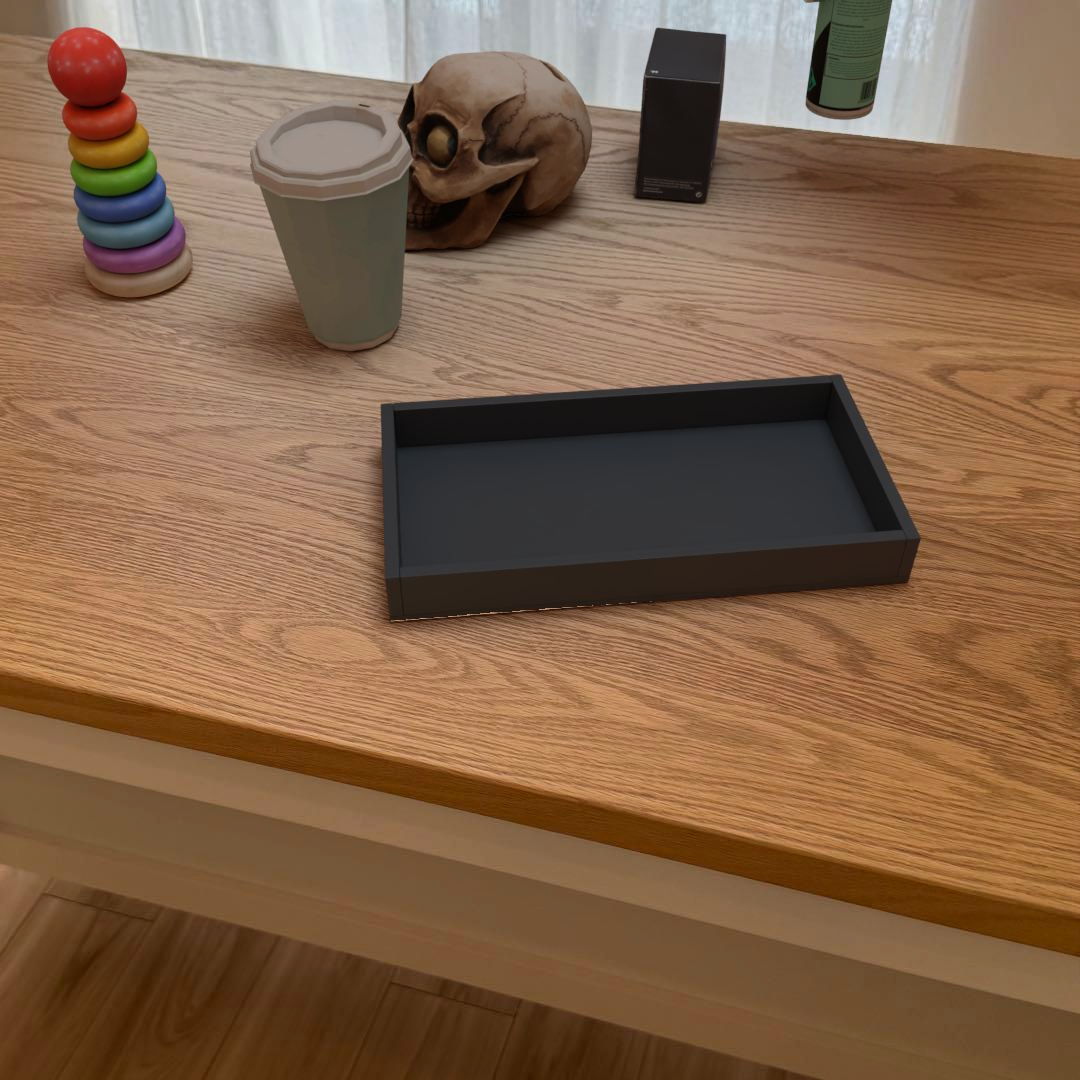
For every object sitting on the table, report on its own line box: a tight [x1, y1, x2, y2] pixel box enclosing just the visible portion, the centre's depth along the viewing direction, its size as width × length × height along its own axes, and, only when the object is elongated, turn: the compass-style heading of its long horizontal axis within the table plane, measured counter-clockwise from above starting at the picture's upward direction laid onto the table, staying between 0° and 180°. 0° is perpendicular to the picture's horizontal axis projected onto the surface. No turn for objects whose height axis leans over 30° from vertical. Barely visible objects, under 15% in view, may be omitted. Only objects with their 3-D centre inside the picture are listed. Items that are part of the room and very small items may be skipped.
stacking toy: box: [46, 26, 193, 298], centre depth 89 cm, size 8×8×19 cm
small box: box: [633, 27, 727, 203], centre depth 104 cm, size 11×6×10 cm, turn 171°
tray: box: [380, 373, 922, 622], centre depth 74 cm, size 30×16×4 cm, turn 96°
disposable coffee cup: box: [249, 99, 413, 352], centre depth 85 cm, size 11×11×15 cm
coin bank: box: [396, 50, 593, 251], centre depth 99 cm, size 16×17×13 cm
